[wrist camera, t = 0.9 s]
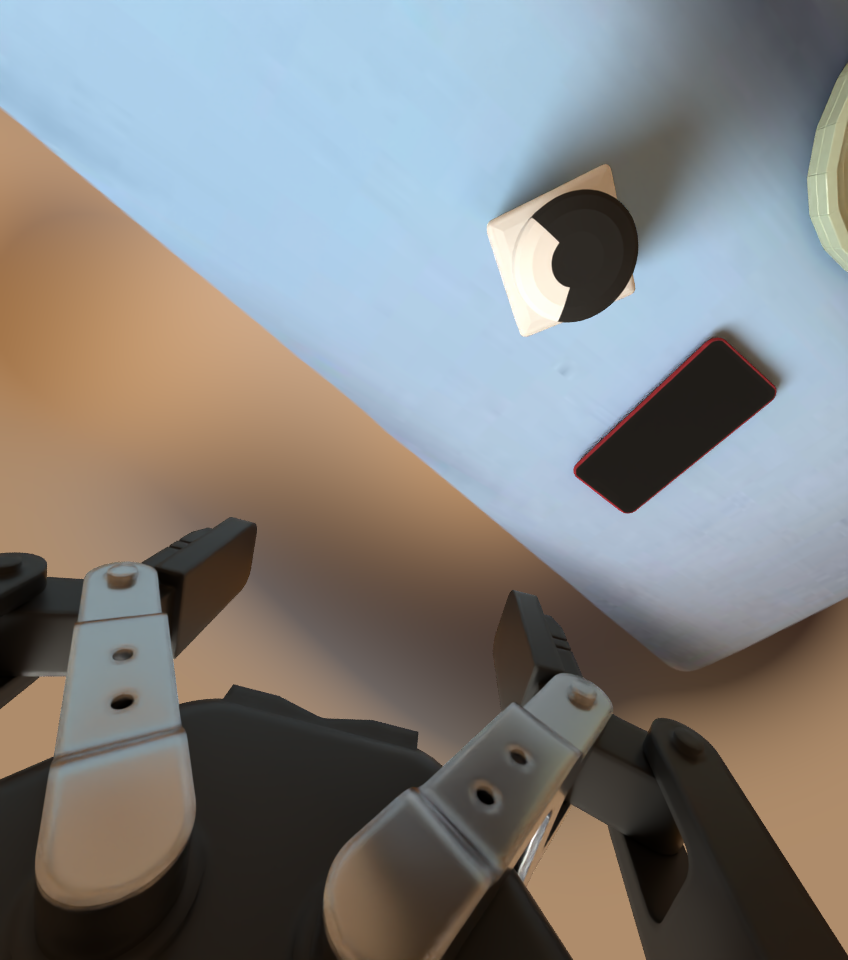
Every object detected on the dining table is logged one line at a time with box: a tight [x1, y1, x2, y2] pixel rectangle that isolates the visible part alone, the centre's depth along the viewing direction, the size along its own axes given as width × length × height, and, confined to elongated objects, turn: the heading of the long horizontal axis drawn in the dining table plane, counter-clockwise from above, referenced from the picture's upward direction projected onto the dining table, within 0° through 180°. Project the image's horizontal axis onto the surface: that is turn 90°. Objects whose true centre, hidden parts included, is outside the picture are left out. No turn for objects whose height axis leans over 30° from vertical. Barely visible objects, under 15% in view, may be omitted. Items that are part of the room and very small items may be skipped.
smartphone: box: [574, 338, 777, 513], centre depth 36 cm, size 7×1×15 cm
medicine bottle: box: [487, 164, 638, 337], centre depth 26 cm, size 7×7×12 cm
